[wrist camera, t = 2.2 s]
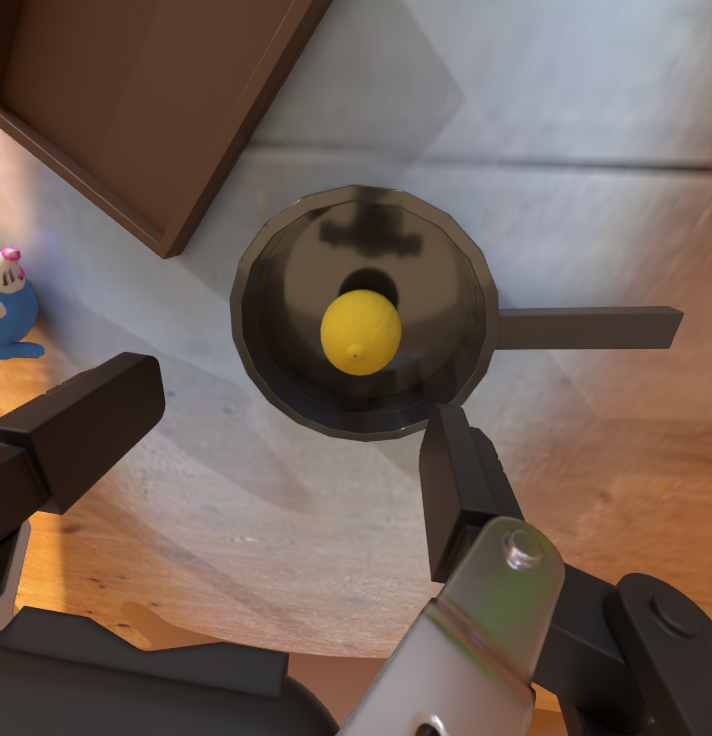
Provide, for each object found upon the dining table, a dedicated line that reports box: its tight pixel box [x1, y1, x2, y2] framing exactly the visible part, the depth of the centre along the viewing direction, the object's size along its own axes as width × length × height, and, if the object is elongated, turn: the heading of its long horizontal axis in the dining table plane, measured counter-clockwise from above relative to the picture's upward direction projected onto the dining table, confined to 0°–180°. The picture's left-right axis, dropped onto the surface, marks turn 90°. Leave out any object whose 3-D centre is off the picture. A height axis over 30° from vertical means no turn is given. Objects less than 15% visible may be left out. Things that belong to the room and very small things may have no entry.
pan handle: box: [494, 306, 684, 350], centre depth 22 cm, size 11×2×1 cm, turn 93°
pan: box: [230, 185, 499, 442], centre depth 24 cm, size 18×18×6 cm
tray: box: [0, 0, 332, 259], centre depth 19 cm, size 22×15×2 cm
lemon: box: [321, 289, 401, 375], centre depth 23 cm, size 6×6×8 cm
